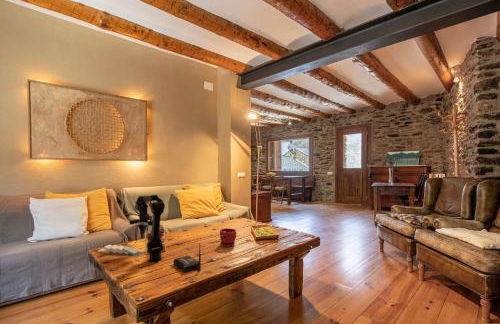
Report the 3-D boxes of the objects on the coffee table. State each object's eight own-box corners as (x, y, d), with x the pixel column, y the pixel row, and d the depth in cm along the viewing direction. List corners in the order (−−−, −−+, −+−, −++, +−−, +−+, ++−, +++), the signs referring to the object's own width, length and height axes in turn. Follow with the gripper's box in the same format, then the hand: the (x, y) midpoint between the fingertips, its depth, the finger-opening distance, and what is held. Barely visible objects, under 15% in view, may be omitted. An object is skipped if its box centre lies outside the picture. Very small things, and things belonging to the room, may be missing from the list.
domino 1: (120, 249, 183) (109, 244, 185) (115, 251, 178) (104, 246, 180) (120, 251, 183) (109, 246, 185) (115, 253, 178) (103, 248, 180)
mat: (144, 253, 181) (144, 252, 181) (136, 257, 173) (136, 256, 173) (114, 250, 187) (114, 249, 187) (105, 254, 178) (105, 253, 178)
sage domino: (138, 250, 180) (127, 246, 182) (134, 253, 175) (122, 248, 177) (138, 252, 180) (126, 247, 182) (133, 255, 175) (121, 250, 177)
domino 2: (126, 249, 182) (115, 244, 184) (121, 252, 177) (110, 247, 179) (126, 251, 182) (114, 246, 184) (121, 254, 177) (109, 248, 179)
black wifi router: (171, 265, 160) (171, 239, 160) (191, 260, 169) (191, 235, 169) (185, 276, 145) (185, 247, 145) (206, 270, 154) (206, 242, 154)
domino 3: (132, 250, 181) (121, 245, 183) (128, 252, 176) (116, 247, 178) (132, 252, 181) (120, 247, 183) (127, 254, 176) (115, 249, 178)
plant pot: (228, 248, 191) (228, 233, 191) (216, 245, 199) (216, 230, 199) (239, 244, 201) (239, 229, 201) (227, 241, 209) (227, 227, 209)
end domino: (114, 248, 184) (103, 248, 187) (109, 250, 179) (97, 250, 182) (114, 250, 184) (103, 250, 186) (109, 252, 179) (97, 252, 182)
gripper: (160, 211, 190) (160, 231, 190) (138, 210, 194) (138, 230, 194) (152, 214, 179) (152, 235, 179) (129, 213, 183) (129, 234, 183)
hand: (143, 234), depth 184 cm, fingers closed
